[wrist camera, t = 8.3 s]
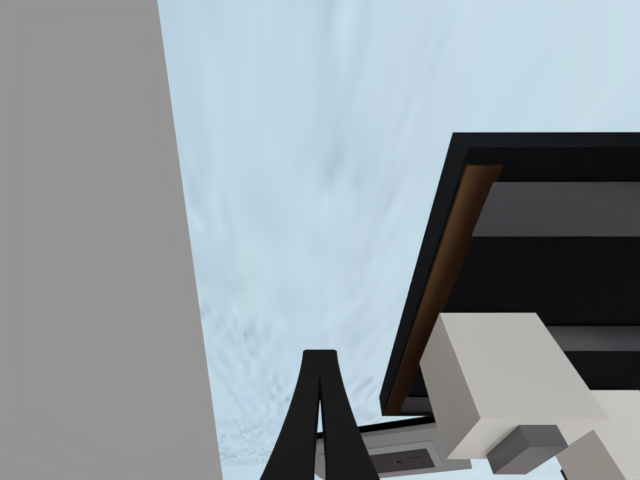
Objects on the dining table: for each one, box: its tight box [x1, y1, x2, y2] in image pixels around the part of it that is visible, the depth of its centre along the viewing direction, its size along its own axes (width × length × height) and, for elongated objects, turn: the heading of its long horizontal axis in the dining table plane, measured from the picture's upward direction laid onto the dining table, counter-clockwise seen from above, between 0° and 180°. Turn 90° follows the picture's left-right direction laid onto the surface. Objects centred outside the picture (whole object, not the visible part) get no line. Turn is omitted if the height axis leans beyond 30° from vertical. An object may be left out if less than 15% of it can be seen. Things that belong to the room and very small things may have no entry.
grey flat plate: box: [315, 416, 472, 480], centre depth 24 cm, size 13×10×2 cm
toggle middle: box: [420, 313, 610, 475], centre depth 12 cm, size 4×4×5 cm
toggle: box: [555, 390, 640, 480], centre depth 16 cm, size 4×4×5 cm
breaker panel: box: [379, 132, 640, 416], centre depth 14 cm, size 18×16×1 cm
